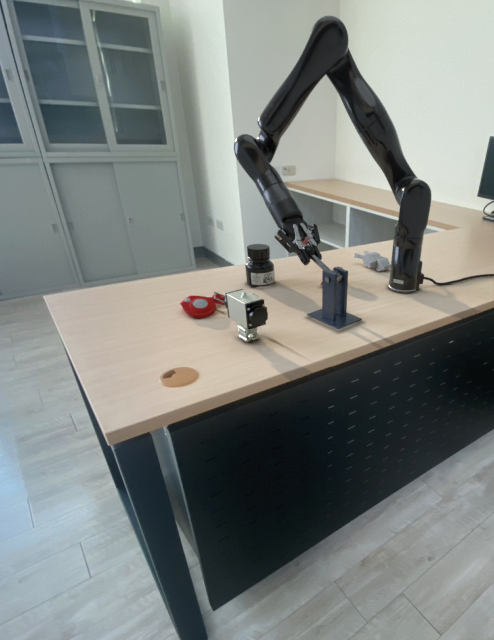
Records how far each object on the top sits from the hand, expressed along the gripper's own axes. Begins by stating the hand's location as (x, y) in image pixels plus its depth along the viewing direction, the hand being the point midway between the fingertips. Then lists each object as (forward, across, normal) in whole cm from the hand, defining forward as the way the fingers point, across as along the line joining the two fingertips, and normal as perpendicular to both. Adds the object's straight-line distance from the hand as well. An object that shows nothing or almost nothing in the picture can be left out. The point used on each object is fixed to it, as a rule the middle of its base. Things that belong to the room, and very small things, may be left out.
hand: (313, 261), depth 107 cm
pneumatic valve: (+11, -23, +9) cm, 27 cm away
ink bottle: (-9, +2, +30) cm, 31 cm away
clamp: (+16, 0, +4) cm, 16 cm away
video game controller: (+1, +20, +19) cm, 28 cm away
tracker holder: (-4, -22, +24) cm, 33 cm away
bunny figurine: (-1, +45, +22) cm, 50 cm away
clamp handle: (+3, 0, 0) cm, 3 cm away
